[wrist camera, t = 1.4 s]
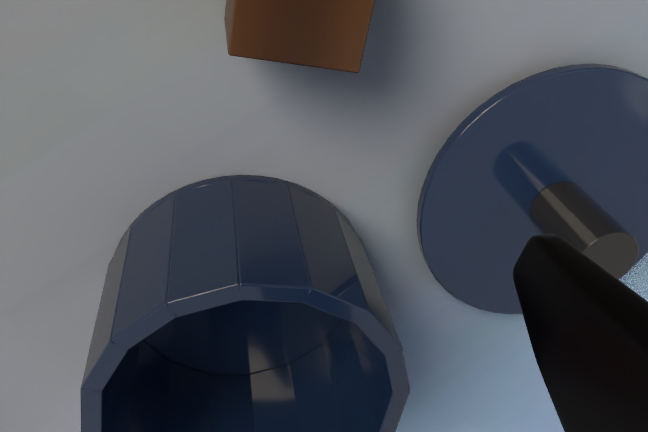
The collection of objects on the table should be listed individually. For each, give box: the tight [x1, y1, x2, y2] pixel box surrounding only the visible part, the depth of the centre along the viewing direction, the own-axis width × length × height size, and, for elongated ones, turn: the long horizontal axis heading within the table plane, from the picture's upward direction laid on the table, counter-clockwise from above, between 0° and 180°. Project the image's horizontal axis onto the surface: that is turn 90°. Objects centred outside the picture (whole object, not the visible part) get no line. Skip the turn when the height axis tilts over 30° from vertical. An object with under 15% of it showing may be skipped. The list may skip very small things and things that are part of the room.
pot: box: [81, 175, 410, 432], centre depth 25 cm, size 12×12×8 cm
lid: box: [417, 64, 648, 314], centre depth 26 cm, size 13×13×5 cm
